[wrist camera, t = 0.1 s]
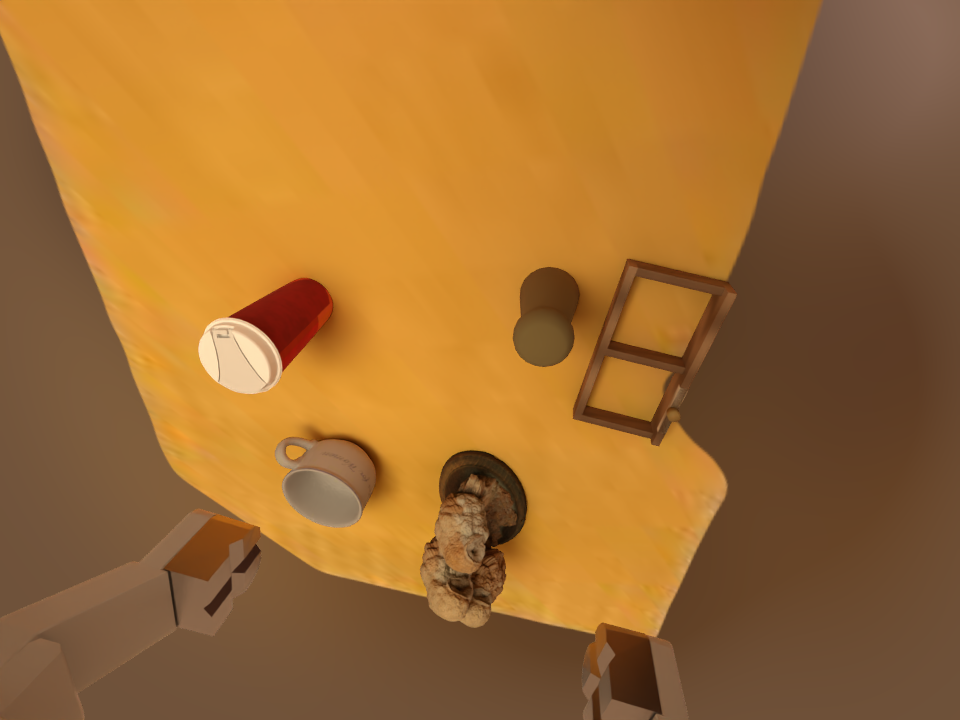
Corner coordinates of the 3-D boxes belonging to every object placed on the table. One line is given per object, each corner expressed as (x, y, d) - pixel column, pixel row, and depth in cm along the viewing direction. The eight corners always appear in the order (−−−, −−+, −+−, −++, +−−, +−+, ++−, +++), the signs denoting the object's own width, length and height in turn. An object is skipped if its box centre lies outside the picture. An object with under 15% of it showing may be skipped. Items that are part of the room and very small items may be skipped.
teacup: (398, 477, 66) (377, 522, 59) (338, 492, 70) (312, 537, 63) (342, 400, 60) (312, 440, 53) (282, 421, 64) (247, 462, 57)
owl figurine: (538, 541, 67) (526, 667, 53) (461, 542, 70) (430, 661, 56) (512, 445, 59) (489, 564, 44) (426, 451, 62) (379, 563, 48)
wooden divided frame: (627, 258, 44) (631, 273, 41) (730, 282, 44) (743, 299, 40) (573, 408, 54) (572, 430, 51) (656, 429, 54) (662, 452, 50)
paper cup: (269, 269, 52) (178, 324, 40) (332, 267, 51) (257, 324, 39) (290, 332, 56) (213, 399, 44) (349, 331, 54) (285, 401, 43)
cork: (579, 321, 49) (579, 378, 39) (521, 322, 50) (508, 377, 41) (579, 266, 46) (579, 312, 36) (518, 268, 47) (503, 314, 38)
